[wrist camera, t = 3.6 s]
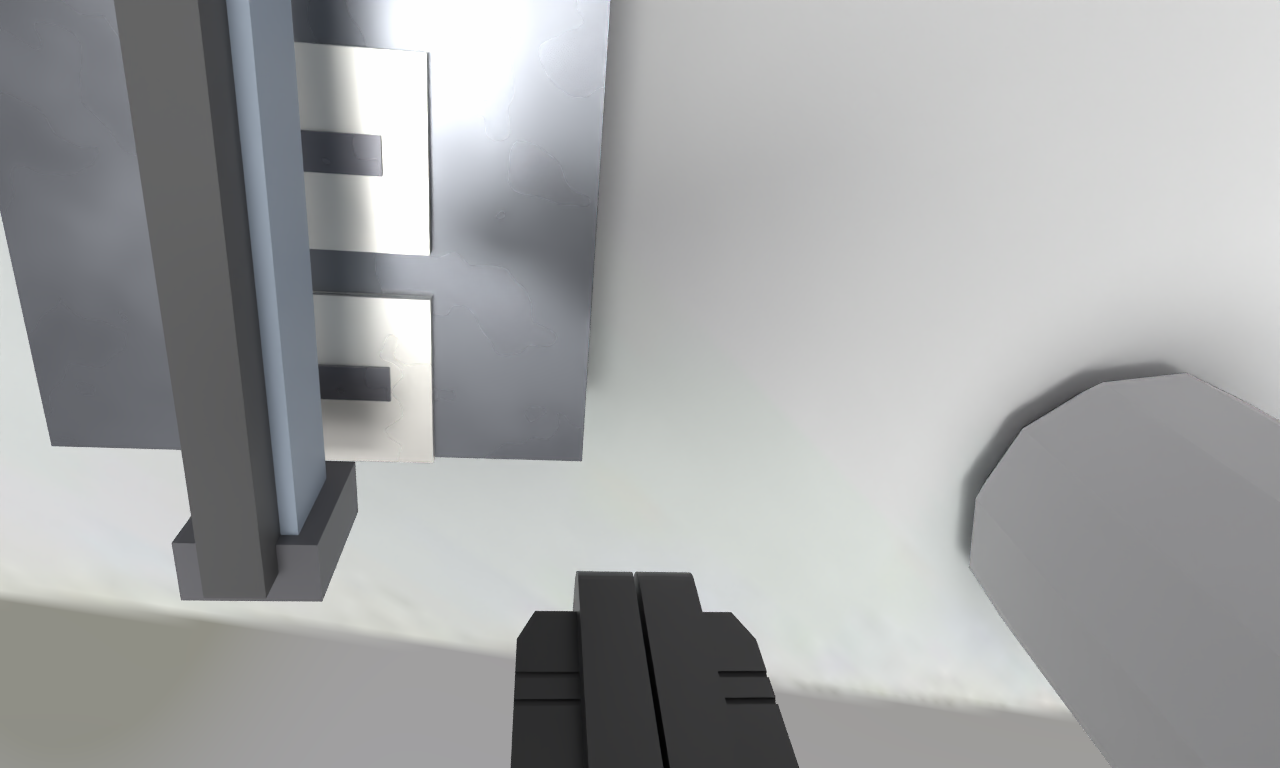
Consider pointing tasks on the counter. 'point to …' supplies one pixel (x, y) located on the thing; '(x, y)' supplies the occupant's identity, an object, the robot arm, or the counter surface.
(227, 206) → the bar
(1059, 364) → the counter surface
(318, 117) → the grey block
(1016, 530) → the jar
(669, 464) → the counter surface
